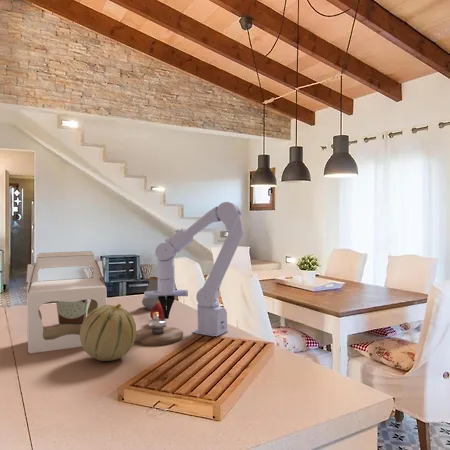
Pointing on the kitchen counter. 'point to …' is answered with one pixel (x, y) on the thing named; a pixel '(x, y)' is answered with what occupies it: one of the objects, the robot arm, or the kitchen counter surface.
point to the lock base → (158, 336)
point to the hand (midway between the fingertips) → (166, 318)
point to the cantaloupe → (108, 332)
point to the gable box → (61, 298)
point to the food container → (71, 312)
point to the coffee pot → (151, 287)
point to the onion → (157, 310)
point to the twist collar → (157, 321)
